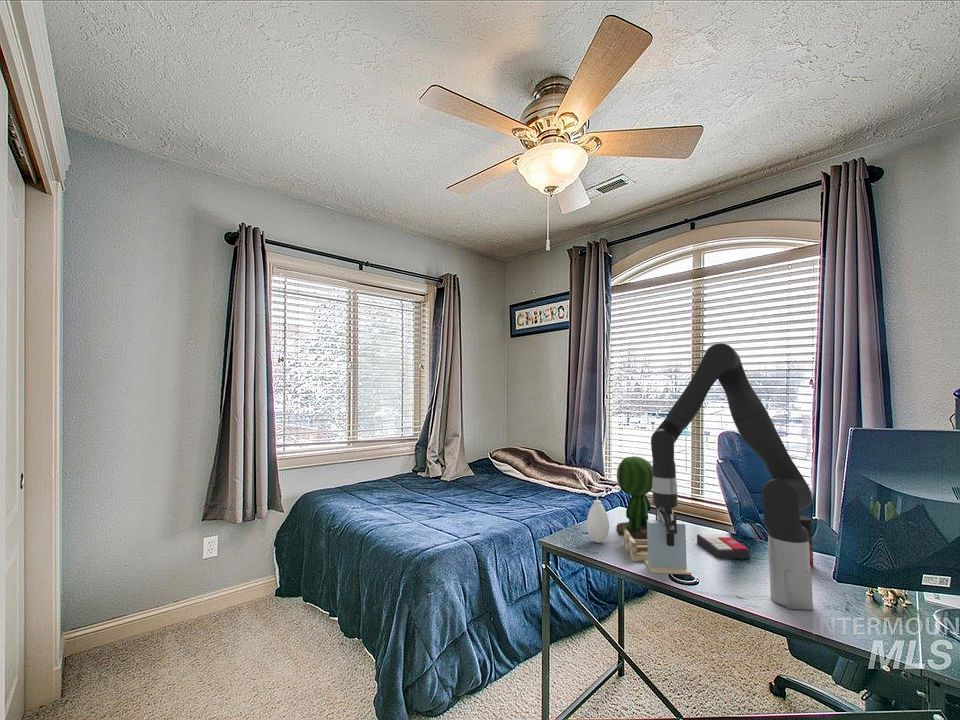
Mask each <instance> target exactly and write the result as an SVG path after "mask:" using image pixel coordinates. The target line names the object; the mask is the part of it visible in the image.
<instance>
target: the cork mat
mask: <svg viewBox="0 0 960 720" xmlns="http://www.w3.org/2000/svg"><path fill="white" fill-rule="evenodd" d="M643 563H645V565H646V567H647V568H648V570H649V571H650V573H651V574H672V575H673V574H674V575H691V574H692V571H691V570H690V569H689V567H687V569H674V568H651V567H650V565H649V564H648V560H644V562H643Z"/></svg>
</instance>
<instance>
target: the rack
mask: <svg viewBox="0 0 960 720" xmlns="http://www.w3.org/2000/svg"><path fill="white" fill-rule="evenodd" d="M636 545H647V539H633V538H632V536H631V535H630V533H629V532H628V530H627V529H624V536H623V546H624V548H625V550H626V551H627V554H628V555H629V556H630V559H631V560H632V562H639V563H640V562H641V563H642V562H643V563H645V562H644V560H648V553H637V551H636Z"/></svg>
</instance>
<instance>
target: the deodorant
mask: <svg viewBox="0 0 960 720" xmlns="http://www.w3.org/2000/svg"><path fill="white" fill-rule="evenodd" d="M800 522H801V526H803V527H805V528H806V529H807V530H808V534H809V559H810V566H813V567H814V549H813V548H814V545H813V529H812V528H813V525H812V518H811V517H809V516H806V515H805V516H804V515H800Z"/></svg>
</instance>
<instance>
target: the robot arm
mask: <svg viewBox="0 0 960 720" xmlns="http://www.w3.org/2000/svg"><path fill="white" fill-rule="evenodd" d="M717 380H718V382H719V383H720V386H721V387H722V389H723V391H724V393H725V395H726V398H727V400H726V401H727V404H728V408H729V411H730V414H731V417H732V421H733V423H734V425H735V427H736V430H737V431H738V433H739V435H740V437H741V438H742V440H743V442H744V443H745V444H746V445H747V446H748V447H749V449H751V451H753V452H754V453H755V455H757V457H759V458H760V460H761V461H762V462H763V464H764V465H765V467H766V469H767V470H768V472H769V475H770V477H771V479H770V480H768V481H767V482H766V483H765V484H764V485H763V488H762V492H761V494H762V495H761V499H762V511H763V520H764V524H765V525H766V528H767V537H768V538H767V541H768V544H767V545H768V566H769V570H768V571H769V587H770V598H771V600H772V601H773V602H775V603H776V604H778V605H779V606H783V607H785V608H787V609H788V610H801V611H802V610H803V611H813V610H814V600H813V596H814V595H813V575H812V573H811V567H810V559H809V534H808V530H807V529H806V528H805V527H803V526H801V522H800V513H801V511H803V510H806V509H807V508H809V507H810V506H811V504H812V502H813V494H812V491H811V488H810V487H809V485H808V482H807V481H806V480H805V478H804V476H803V475H802V474H801V471H800V470H799V469H798V467H797V465H796V464H795V462H794V460H793V459H792V458H791V456H790V454H789V452H788V451H787V448H786V447H785V444H784V442H783V440H782V439H781V437H780V434H779V433H778V431H777V429H776V427H775V425H774V422H773V420H772V418H771V417H770V414H769V413H768V411H767V409H766V407H765V406H764V404H763V402H762V401H761V399H760V397H759V396H758V394H757V392H755V390H754V388H753V387H752V385H751V384H750V382H749V380H748V377H747V374H746V373H745V370H744V367H743V363H742V361H741V357H740V355H739V354H738V352H737V351H736V350H735V349H734V348H733V347H732V346H730V344H728V343H722V342H719V343H715V344H712V345H710V346H709V347H708V348H707V349H706V351H705V352H704V355H703V356H702V358H701V361H700V363H699V365H698V367H697V369H696V371H695V372H694V374H693V376H692V378H691V379H690V381H689V383H688V384H687V385H686V387H685V388H684V390H683V392H682V393H681V395H680V396H679V398H678V399H677V400H676V401H675V402H674V404H673V406H672V407H671V408H670V410H669V411H668V413H667V415H666V417H665V419H663V420H662V422H661V423H660V424H659V426H658V427H657V428H656V430H655V431H653V433H652V435H651V438H650V448H651V457H652V467H653V480H652V490H651V491H652V493H651V494H652V504H653V506H655V520H661V521H662V523H663V526H664V527H665V529H666V541H667V545H668V546H674V545H675V543H674V534H677V523H676V521H677V515H676V513H674V512H673V508H677V507H678V504H679V503H678V484H677V483H678V481H677V472H676V471H677V470H676V469H677V468H676V467H677V466H676V462H675V444H676V441H677V440H678V439H679V438H680V437H681V434H682V433H683V431H684V430H685V429H686V428H687V427H688V426H689V425H690V423H691V422H692V421H693V419H694V418H695V417H696V416H697V414H698V413H699V411H700V410H701V408H702V405H703V403H704V402H705V400H706V397H707V394H708V393H709V391H710V390H711V388H712V386H713V385H714V383H716V381H717ZM670 527H671V528H672V530H670Z"/></svg>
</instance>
